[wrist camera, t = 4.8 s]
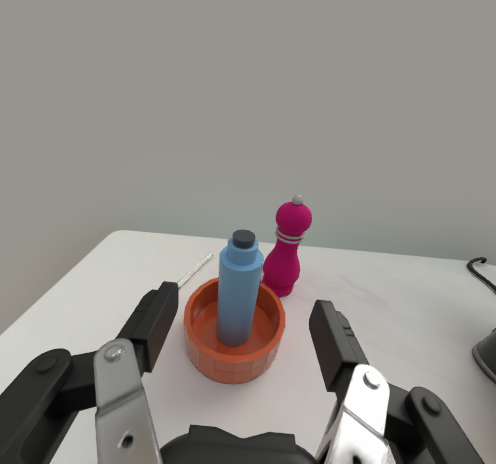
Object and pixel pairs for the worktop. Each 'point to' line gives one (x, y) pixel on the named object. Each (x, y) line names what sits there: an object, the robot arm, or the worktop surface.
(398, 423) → the robot arm
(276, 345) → the pot
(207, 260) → the fork
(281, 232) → the pepper mill
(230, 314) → the bottle
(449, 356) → the worktop surface
